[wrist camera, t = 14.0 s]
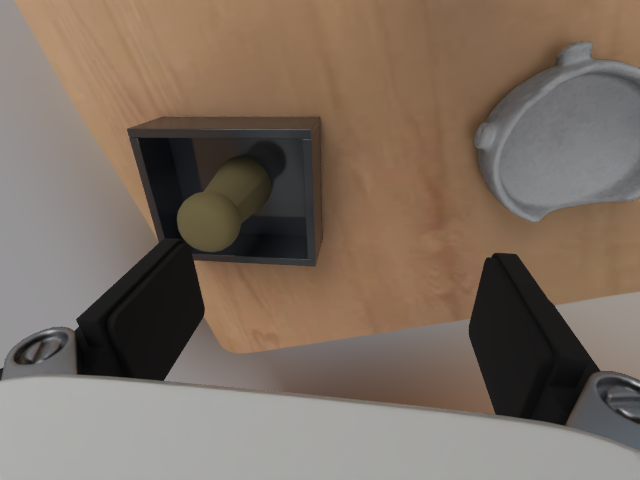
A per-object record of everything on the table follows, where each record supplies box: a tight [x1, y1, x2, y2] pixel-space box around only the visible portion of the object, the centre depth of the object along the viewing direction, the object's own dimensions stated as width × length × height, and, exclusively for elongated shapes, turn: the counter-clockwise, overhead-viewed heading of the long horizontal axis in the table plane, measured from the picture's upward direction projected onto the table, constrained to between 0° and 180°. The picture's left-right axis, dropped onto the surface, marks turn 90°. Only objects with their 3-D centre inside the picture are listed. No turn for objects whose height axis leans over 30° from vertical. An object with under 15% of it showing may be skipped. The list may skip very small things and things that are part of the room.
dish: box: [473, 41, 640, 222], centre depth 30 cm, size 14×14×5 cm
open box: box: [127, 117, 323, 266], centre depth 36 cm, size 14×17×6 cm
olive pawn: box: [177, 157, 271, 252], centre depth 33 cm, size 6×6×11 cm
